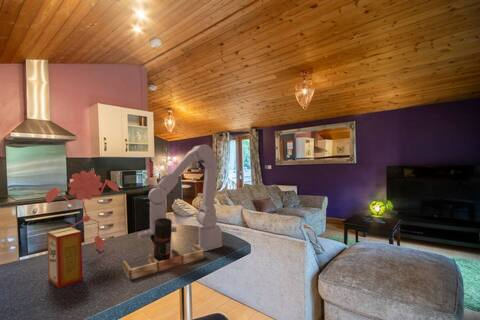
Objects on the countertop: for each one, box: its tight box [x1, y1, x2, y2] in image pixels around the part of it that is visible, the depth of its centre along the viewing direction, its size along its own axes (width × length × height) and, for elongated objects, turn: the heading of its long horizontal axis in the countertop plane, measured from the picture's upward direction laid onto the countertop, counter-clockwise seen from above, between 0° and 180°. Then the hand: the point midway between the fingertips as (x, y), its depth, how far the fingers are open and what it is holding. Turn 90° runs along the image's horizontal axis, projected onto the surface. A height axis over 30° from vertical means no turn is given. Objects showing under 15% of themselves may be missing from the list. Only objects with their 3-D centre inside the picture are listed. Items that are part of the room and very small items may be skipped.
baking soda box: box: [46, 227, 84, 289], centre depth 80 cm, size 10×6×16 cm
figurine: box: [45, 169, 120, 263], centre depth 101 cm, size 15×26×35 cm, turn 136°
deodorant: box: [153, 217, 173, 262], centre depth 93 cm, size 6×6×15 cm
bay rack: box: [122, 243, 206, 281], centre depth 91 cm, size 27×10×3 cm, turn 126°
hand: (158, 253), depth 97 cm, fingers closed, pressing on deodorant
